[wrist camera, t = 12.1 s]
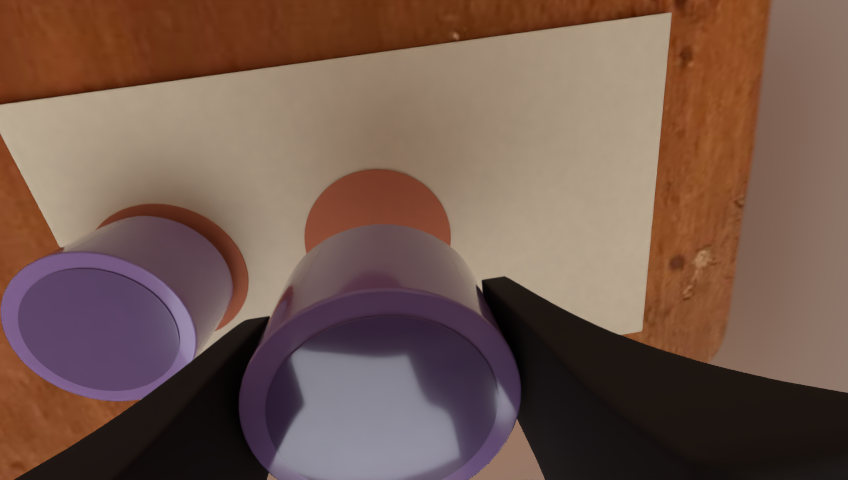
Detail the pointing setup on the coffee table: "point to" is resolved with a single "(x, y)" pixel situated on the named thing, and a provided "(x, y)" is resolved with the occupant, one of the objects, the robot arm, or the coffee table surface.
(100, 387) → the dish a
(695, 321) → the coffee table surface
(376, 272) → the purple cup
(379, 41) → the coffee table surface
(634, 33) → the mat
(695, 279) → the coffee table surface
